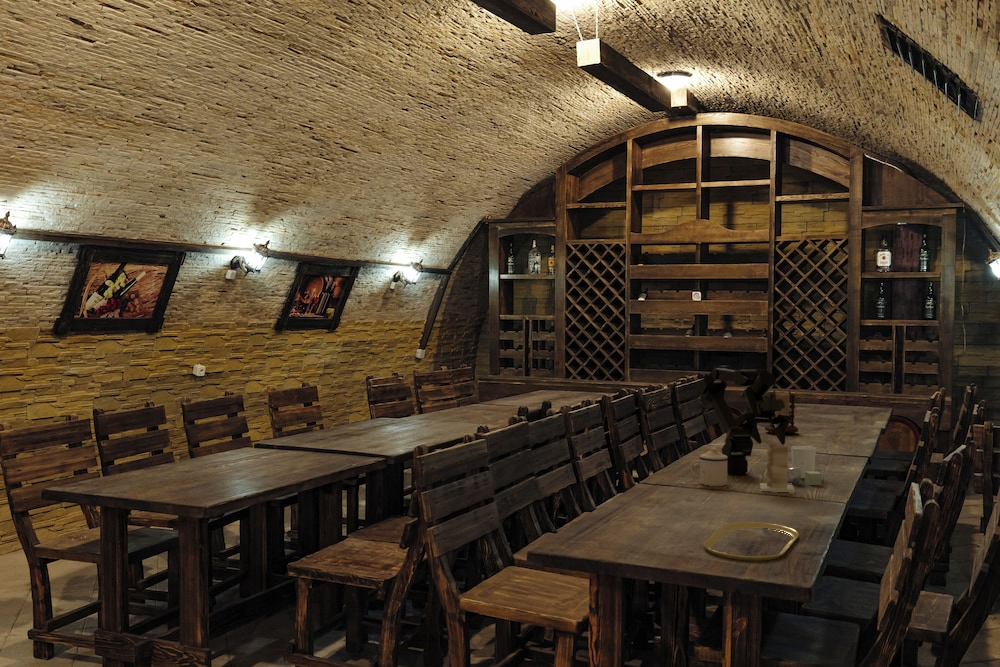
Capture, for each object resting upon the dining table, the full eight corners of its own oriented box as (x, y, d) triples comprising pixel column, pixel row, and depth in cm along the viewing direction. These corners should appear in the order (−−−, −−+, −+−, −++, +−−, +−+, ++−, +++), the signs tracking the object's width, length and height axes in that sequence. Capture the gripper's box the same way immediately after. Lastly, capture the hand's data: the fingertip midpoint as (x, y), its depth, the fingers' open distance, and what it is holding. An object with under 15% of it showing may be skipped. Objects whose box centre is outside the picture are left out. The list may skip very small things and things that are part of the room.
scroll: (766, 435, 411) (767, 390, 410) (762, 430, 425) (763, 387, 424) (800, 436, 408) (801, 391, 408) (795, 431, 423) (796, 388, 422)
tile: (761, 491, 285) (761, 488, 285) (759, 486, 294) (759, 483, 294) (794, 493, 283) (794, 490, 283) (792, 487, 291) (792, 484, 291)
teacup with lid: (729, 482, 300) (729, 447, 299) (726, 487, 291) (726, 451, 291) (692, 479, 304) (692, 444, 303) (688, 484, 295) (688, 448, 295)
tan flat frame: (804, 533, 234) (804, 527, 234) (776, 567, 204) (776, 560, 203) (731, 524, 243) (731, 519, 243) (693, 556, 212) (694, 549, 212)
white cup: (816, 479, 306) (817, 449, 306) (792, 478, 308) (792, 448, 307) (813, 475, 314) (814, 446, 313) (789, 474, 315) (790, 445, 315)
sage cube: (809, 485, 295) (809, 473, 295) (804, 483, 299) (804, 471, 299) (821, 485, 296) (821, 473, 295) (816, 483, 300) (816, 471, 299)
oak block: (766, 485, 290) (767, 444, 289) (779, 484, 291) (780, 444, 290) (773, 488, 285) (774, 446, 285) (787, 487, 286) (787, 446, 286)
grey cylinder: (787, 484, 297) (787, 469, 297) (786, 481, 302) (786, 466, 301) (801, 485, 296) (801, 469, 296) (800, 482, 301) (800, 467, 300)
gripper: (746, 387, 294) (762, 429, 285) (793, 391, 301) (810, 432, 292) (728, 405, 302) (743, 447, 293) (774, 408, 309) (789, 449, 300)
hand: (772, 443), depth 294 cm, fingers open, 9 cm apart
